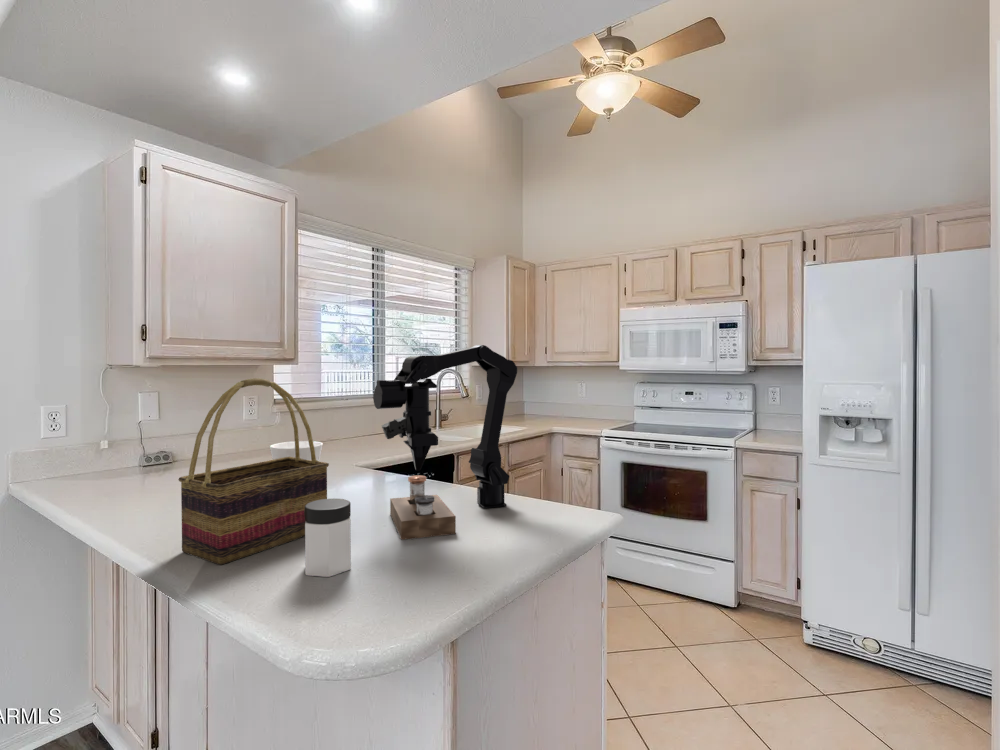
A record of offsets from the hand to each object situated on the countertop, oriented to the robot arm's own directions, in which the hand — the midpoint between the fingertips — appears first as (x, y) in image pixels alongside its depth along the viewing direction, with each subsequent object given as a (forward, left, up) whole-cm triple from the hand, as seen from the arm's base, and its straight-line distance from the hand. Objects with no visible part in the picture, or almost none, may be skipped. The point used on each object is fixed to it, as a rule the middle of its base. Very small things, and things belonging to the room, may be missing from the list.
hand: (417, 470), depth 125 cm
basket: (+35, +4, -12) cm, 37 cm away
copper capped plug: (0, -1, -9) cm, 9 cm away
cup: (+29, -27, -12) cm, 41 cm away
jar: (+21, +25, -12) cm, 35 cm away
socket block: (0, +4, -12) cm, 13 cm away
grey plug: (0, +9, -11) cm, 15 cm away
